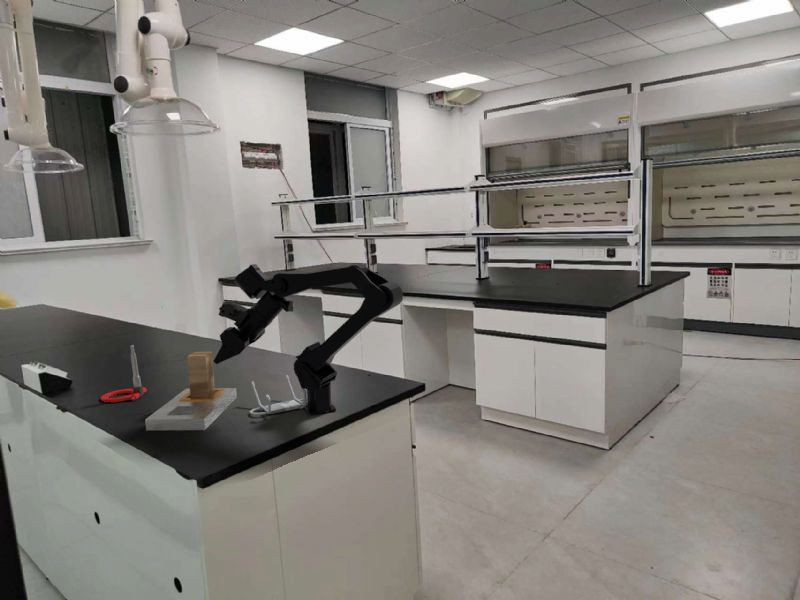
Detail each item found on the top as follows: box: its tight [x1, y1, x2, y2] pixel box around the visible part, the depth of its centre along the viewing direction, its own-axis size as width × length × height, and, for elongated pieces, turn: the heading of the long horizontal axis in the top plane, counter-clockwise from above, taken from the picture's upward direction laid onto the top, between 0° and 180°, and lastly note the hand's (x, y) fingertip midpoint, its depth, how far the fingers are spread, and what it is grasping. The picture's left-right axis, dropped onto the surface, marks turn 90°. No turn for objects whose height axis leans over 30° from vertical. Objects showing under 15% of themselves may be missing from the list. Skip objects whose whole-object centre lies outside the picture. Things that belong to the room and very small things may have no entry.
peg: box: [187, 351, 216, 398], centre depth 136 cm, size 4×4×13 cm
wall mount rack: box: [249, 374, 308, 416], centre depth 134 cm, size 16×14×6 cm
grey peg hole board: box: [144, 387, 238, 431], centre depth 131 cm, size 22×13×3 cm, turn 179°
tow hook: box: [100, 344, 147, 404], centre depth 143 cm, size 9×14×10 cm
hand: (221, 357), depth 135 cm, fingers open, 9 cm apart
